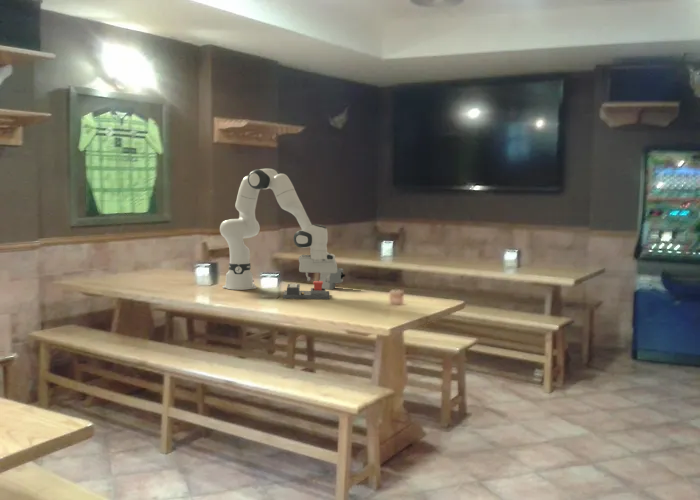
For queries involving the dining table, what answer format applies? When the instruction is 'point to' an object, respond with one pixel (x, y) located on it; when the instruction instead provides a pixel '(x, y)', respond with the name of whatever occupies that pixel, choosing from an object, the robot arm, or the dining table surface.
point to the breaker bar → (293, 286)
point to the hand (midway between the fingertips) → (317, 281)
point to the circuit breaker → (332, 279)
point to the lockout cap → (317, 285)
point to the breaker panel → (305, 293)
